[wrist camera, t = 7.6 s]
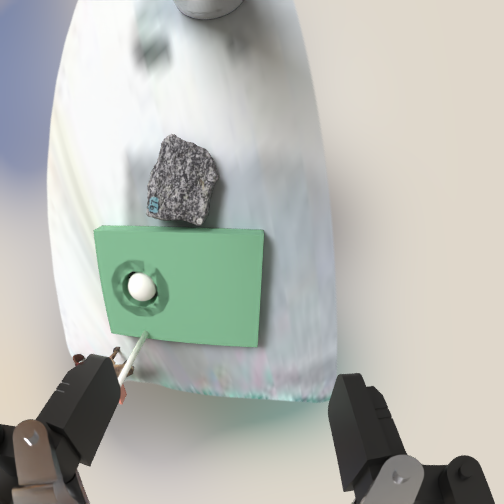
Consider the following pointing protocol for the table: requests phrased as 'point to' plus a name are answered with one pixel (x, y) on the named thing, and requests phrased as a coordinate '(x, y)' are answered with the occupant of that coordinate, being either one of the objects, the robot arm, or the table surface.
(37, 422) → the robot arm
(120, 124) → the table surface
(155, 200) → the rock
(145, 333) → the pin
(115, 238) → the green
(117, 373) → the toy
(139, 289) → the ball
